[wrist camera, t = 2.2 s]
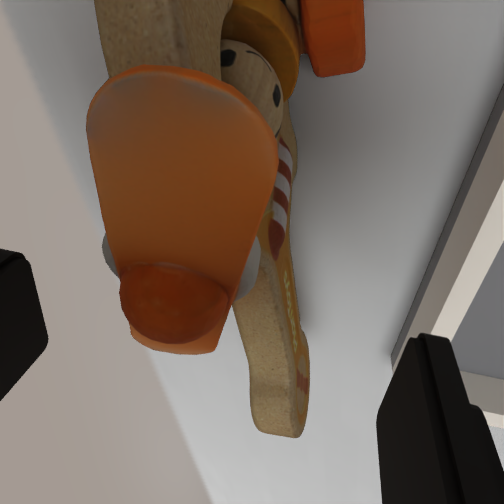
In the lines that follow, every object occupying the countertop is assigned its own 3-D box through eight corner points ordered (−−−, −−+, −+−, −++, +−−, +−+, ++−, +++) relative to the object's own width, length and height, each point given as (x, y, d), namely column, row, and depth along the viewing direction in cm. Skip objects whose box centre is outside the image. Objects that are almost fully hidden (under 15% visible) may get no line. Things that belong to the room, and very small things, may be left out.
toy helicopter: (356, -133, 13) (415, -818, 2) (372, 332, 24) (395, 639, 13) (136, -71, 15) (-439, -236, 4) (240, 331, 26) (158, 594, 15)
